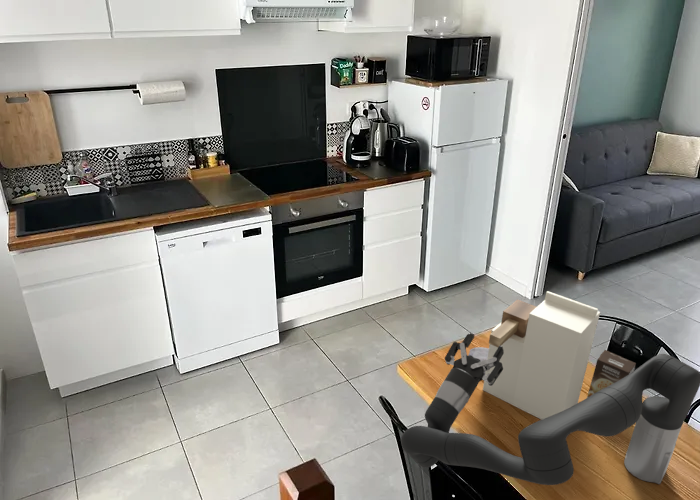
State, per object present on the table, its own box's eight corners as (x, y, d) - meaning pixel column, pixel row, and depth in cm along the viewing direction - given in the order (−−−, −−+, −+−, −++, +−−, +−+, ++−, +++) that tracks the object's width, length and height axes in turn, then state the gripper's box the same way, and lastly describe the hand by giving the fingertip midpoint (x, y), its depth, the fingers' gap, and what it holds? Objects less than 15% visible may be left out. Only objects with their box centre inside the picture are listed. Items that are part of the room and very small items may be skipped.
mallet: (536, 325, 159) (539, 307, 157) (504, 355, 146) (507, 336, 143) (514, 316, 163) (517, 299, 161) (481, 345, 150) (484, 326, 147)
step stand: (577, 403, 161) (602, 304, 146) (558, 428, 152) (583, 325, 137) (504, 368, 175) (519, 275, 161) (482, 390, 166) (497, 293, 151)
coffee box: (584, 402, 162) (595, 358, 155) (592, 391, 166) (603, 348, 159) (616, 417, 156) (629, 372, 149) (623, 406, 160) (636, 362, 153)
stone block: (467, 378, 174) (499, 378, 171) (465, 366, 172) (498, 365, 169) (468, 358, 184) (498, 357, 182) (466, 346, 183) (497, 345, 180)
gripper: (478, 397, 130) (510, 344, 136) (429, 371, 138) (461, 323, 144) (483, 410, 135) (513, 358, 141) (435, 385, 143) (465, 337, 149)
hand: (486, 340), depth 142 cm, fingers open, 8 cm apart
